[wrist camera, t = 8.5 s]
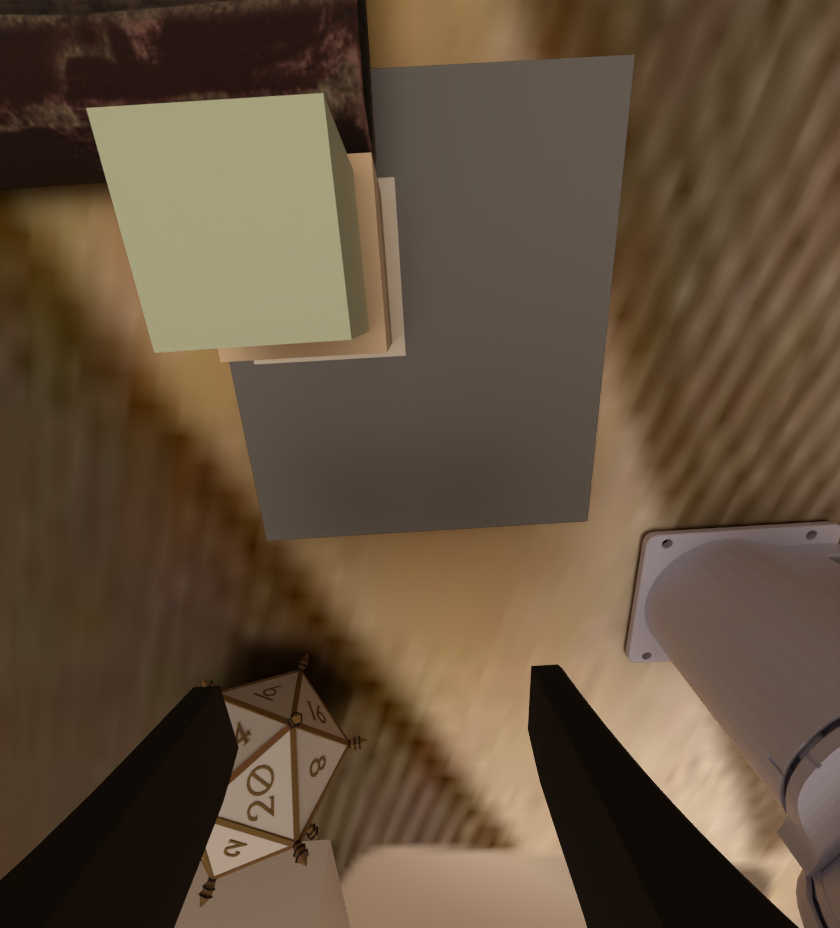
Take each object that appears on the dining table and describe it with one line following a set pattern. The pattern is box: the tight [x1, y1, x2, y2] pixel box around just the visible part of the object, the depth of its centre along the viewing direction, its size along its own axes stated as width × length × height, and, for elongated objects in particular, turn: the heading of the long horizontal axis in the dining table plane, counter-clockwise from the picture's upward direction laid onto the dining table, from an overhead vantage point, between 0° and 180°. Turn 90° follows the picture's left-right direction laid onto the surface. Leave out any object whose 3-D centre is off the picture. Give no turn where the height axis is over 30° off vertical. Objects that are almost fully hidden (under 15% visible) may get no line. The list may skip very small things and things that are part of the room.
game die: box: [199, 653, 367, 908], centre depth 19 cm, size 9×8×10 cm
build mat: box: [229, 55, 635, 541], centre depth 16 cm, size 15×17×1 cm
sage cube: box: [86, 93, 369, 353], centre depth 9 cm, size 4×4×4 cm
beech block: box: [218, 153, 392, 362], centre depth 13 cm, size 5×5×4 cm
